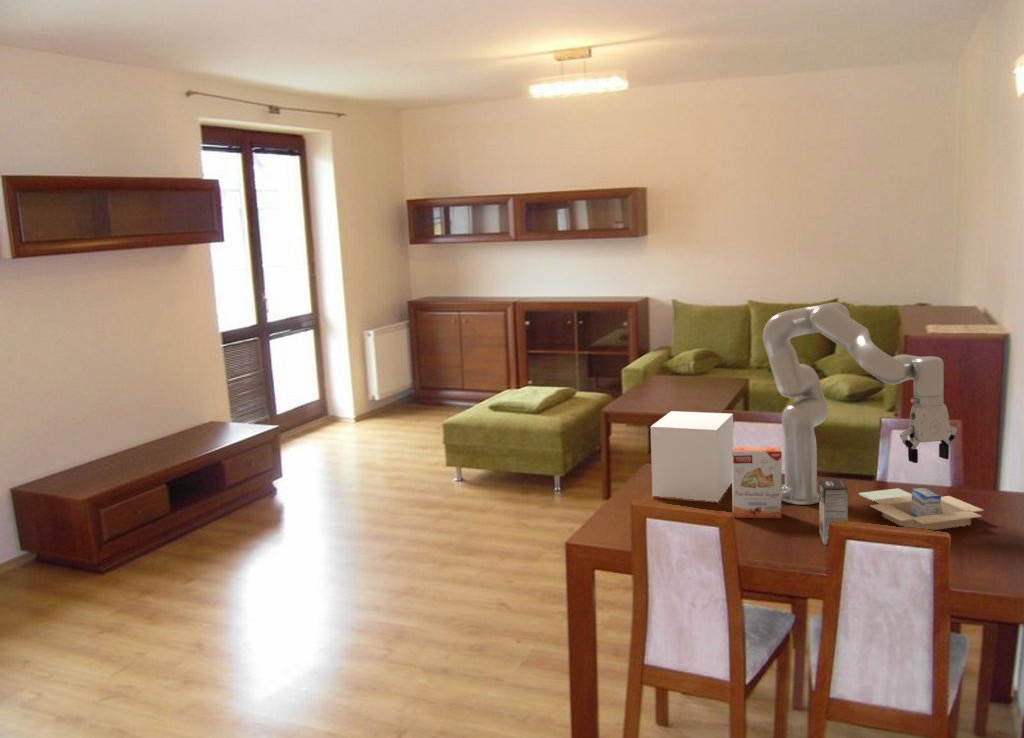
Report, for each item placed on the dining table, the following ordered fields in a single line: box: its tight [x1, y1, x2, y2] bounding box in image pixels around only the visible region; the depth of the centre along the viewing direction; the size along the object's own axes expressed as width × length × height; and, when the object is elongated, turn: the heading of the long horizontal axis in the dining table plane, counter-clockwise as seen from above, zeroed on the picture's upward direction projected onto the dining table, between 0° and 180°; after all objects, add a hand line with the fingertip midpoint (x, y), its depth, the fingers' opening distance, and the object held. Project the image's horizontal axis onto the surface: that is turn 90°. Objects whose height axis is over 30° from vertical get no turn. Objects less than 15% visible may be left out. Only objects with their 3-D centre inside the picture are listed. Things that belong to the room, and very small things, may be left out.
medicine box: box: [911, 487, 942, 517], centre depth 240 cm, size 8×4×9 cm, turn 5°
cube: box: [650, 410, 734, 502], centre depth 280 cm, size 25×21×24 cm
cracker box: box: [731, 446, 783, 519], centre depth 251 cm, size 14×6×21 cm, turn 80°
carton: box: [869, 495, 985, 531], centre depth 240 cm, size 26×22×4 cm
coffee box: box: [818, 478, 849, 546], centre depth 229 cm, size 9×6×16 cm
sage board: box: [858, 488, 912, 504], centre depth 262 cm, size 14×14×1 cm
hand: (928, 460), depth 238 cm, fingers open, 9 cm apart
